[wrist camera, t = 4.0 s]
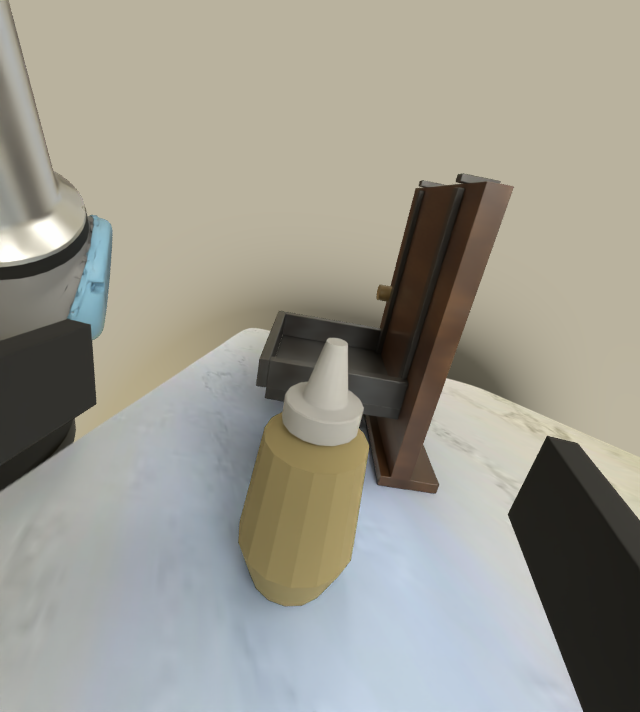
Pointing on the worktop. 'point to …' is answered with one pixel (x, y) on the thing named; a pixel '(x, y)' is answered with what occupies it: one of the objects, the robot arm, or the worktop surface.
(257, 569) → the squeeze bottle
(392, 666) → the worktop surface
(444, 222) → the door rack
